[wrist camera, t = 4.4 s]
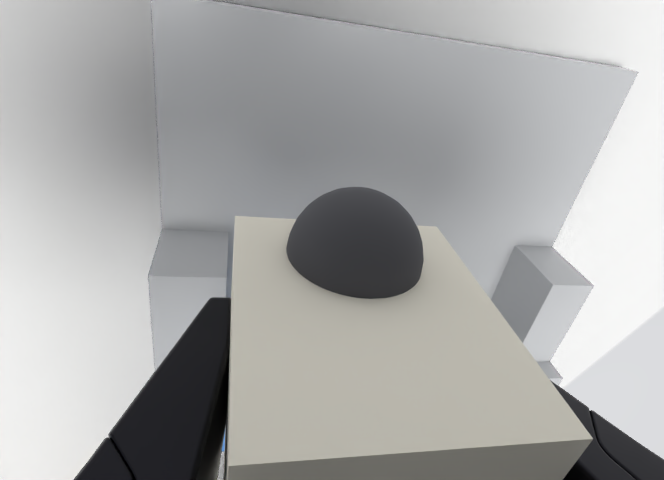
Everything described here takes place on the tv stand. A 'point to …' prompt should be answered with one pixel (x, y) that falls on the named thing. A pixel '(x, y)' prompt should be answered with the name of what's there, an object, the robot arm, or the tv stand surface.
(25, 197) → the tv stand surface
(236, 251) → the cream cube with dome
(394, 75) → the grey backboard with ledge
